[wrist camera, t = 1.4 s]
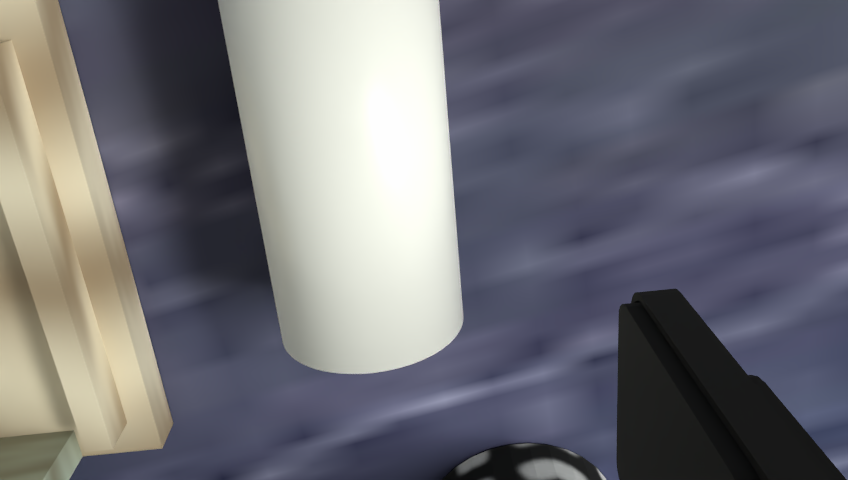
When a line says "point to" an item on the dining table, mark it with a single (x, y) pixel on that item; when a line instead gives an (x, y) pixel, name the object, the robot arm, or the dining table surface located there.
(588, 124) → the dining table surface
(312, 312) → the roll
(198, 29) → the dining table surface
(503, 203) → the dining table surface
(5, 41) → the holder
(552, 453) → the spotted tube
